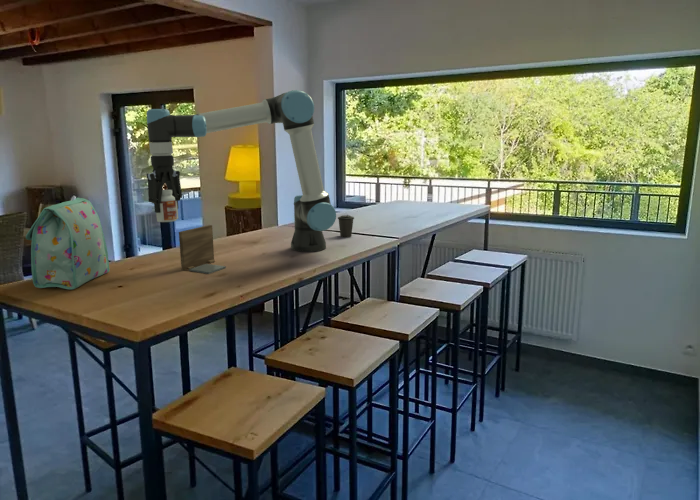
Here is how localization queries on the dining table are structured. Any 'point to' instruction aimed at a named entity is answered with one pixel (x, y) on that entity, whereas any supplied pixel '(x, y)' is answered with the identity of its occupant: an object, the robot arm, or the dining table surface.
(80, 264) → the lunch bag
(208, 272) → the coaster
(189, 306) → the dining table surface
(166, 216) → the pill bottle
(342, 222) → the coffee cup
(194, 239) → the wooden board
